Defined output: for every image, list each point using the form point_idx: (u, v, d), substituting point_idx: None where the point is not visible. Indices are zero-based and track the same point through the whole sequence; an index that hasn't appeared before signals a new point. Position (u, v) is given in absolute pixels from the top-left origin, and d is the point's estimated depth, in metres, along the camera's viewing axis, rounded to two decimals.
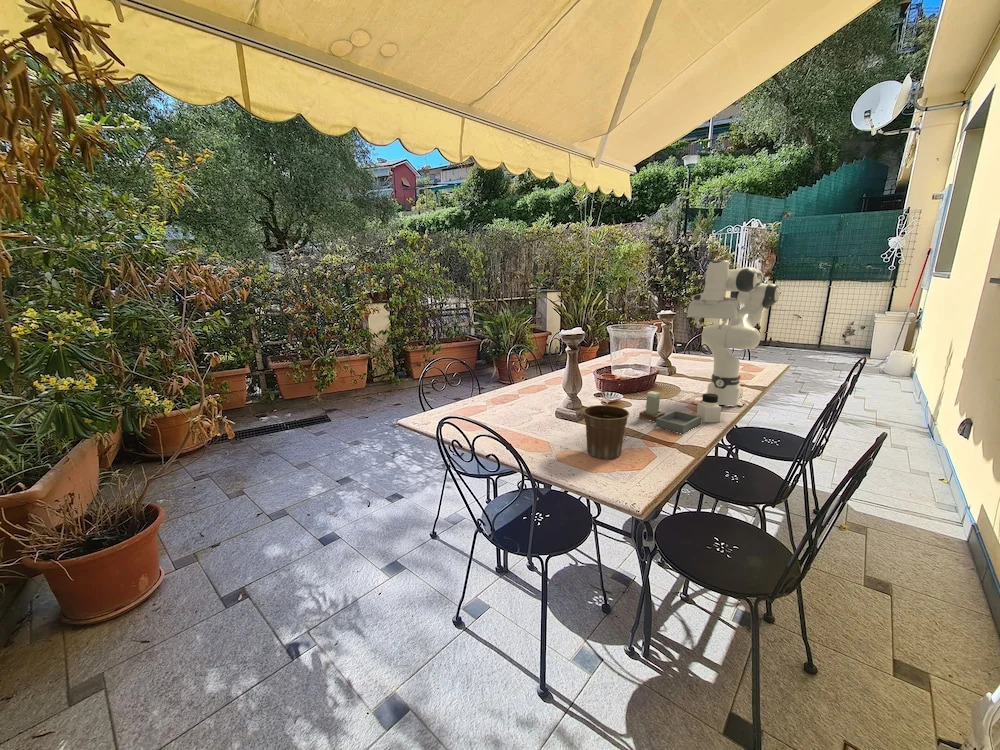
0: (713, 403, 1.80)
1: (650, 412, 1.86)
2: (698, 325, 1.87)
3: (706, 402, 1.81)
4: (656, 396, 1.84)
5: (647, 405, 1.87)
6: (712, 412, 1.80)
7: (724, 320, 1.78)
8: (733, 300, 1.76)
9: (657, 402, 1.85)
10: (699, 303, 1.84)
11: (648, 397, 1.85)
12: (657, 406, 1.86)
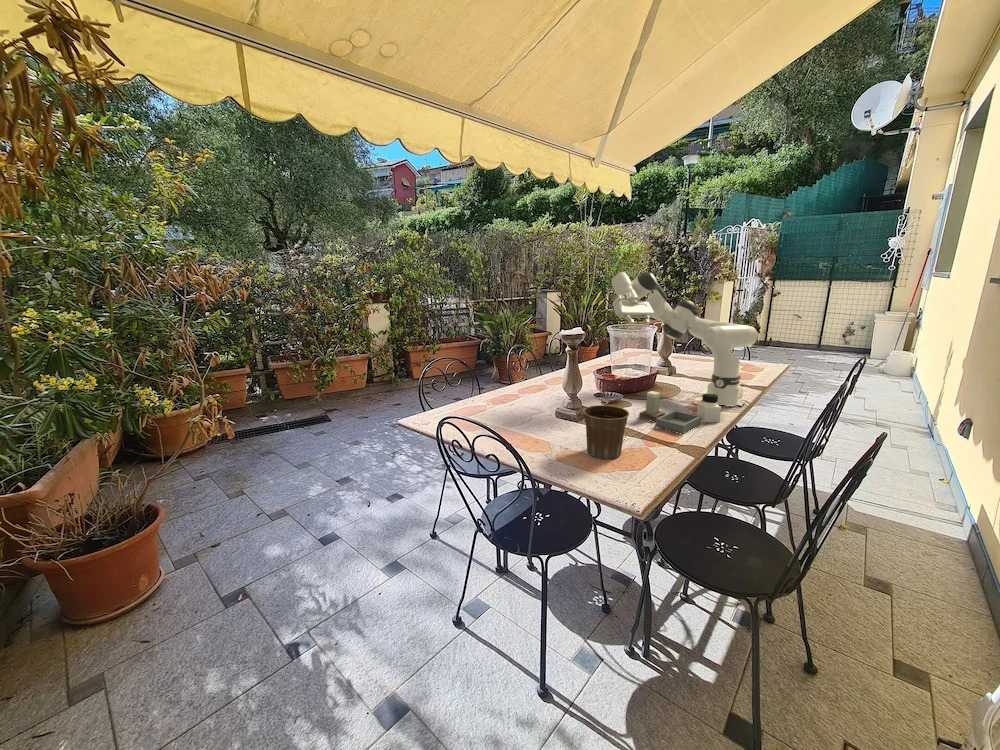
0: (713, 403, 1.80)
1: (650, 412, 1.86)
2: (632, 320, 1.92)
3: (706, 402, 1.81)
4: (656, 396, 1.84)
5: (647, 405, 1.87)
6: (712, 412, 1.80)
7: (648, 315, 1.97)
8: (644, 302, 2.02)
9: (657, 402, 1.85)
10: (626, 302, 1.95)
11: (648, 397, 1.85)
12: (657, 406, 1.86)
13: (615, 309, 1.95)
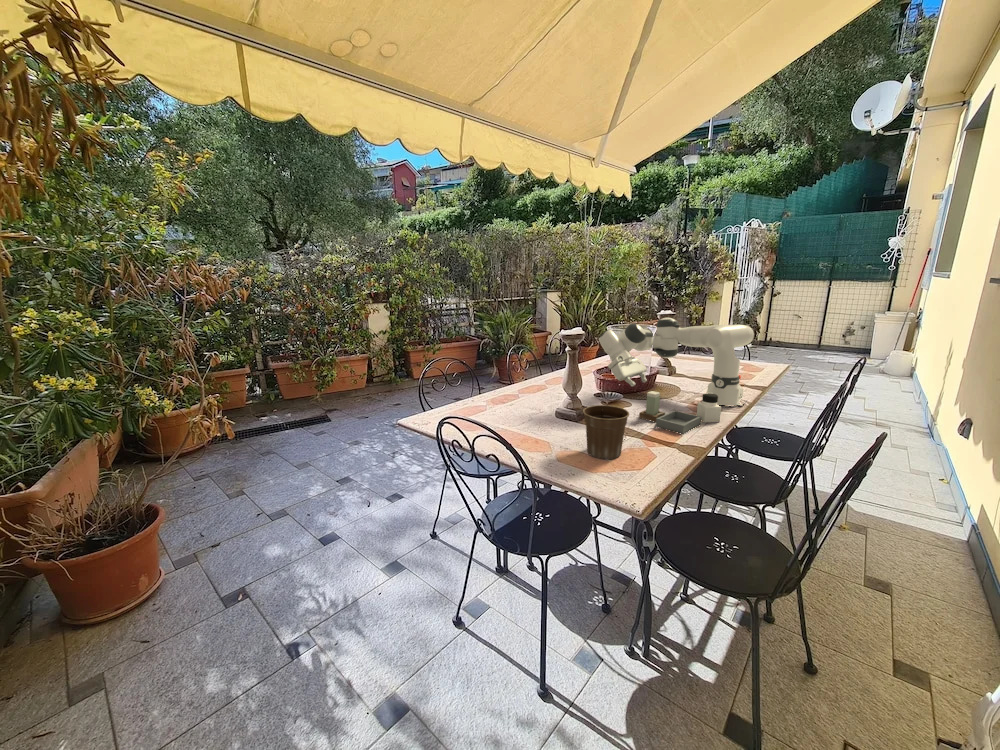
0: (713, 403, 1.80)
1: (650, 412, 1.86)
2: (634, 382, 1.86)
3: (706, 402, 1.81)
4: (656, 396, 1.84)
5: (647, 405, 1.87)
6: (712, 412, 1.80)
7: (643, 373, 1.94)
8: (634, 358, 1.99)
9: (657, 402, 1.85)
10: (623, 363, 1.88)
11: (648, 397, 1.85)
12: (657, 406, 1.86)
13: (614, 372, 1.87)
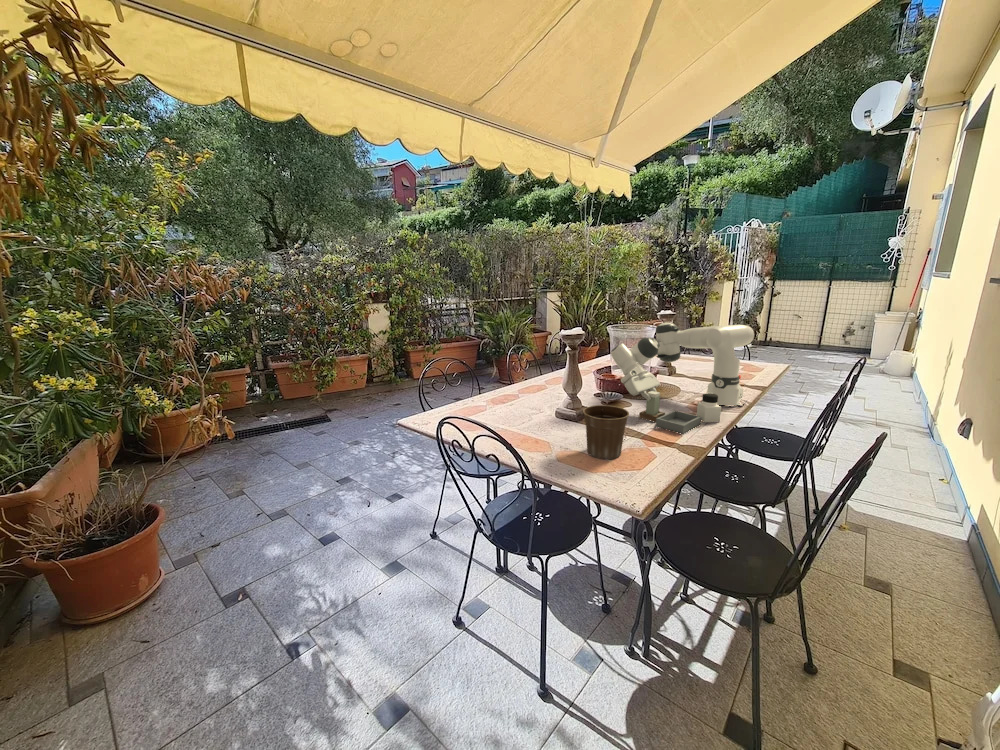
0: (713, 403, 1.80)
1: (650, 412, 1.86)
2: (650, 396, 1.84)
3: (706, 402, 1.81)
4: (656, 396, 1.84)
5: (647, 405, 1.87)
6: (712, 412, 1.80)
7: (654, 388, 1.89)
8: None
9: (657, 402, 1.85)
10: (636, 378, 1.85)
11: None
12: (657, 406, 1.86)
13: (628, 387, 1.84)
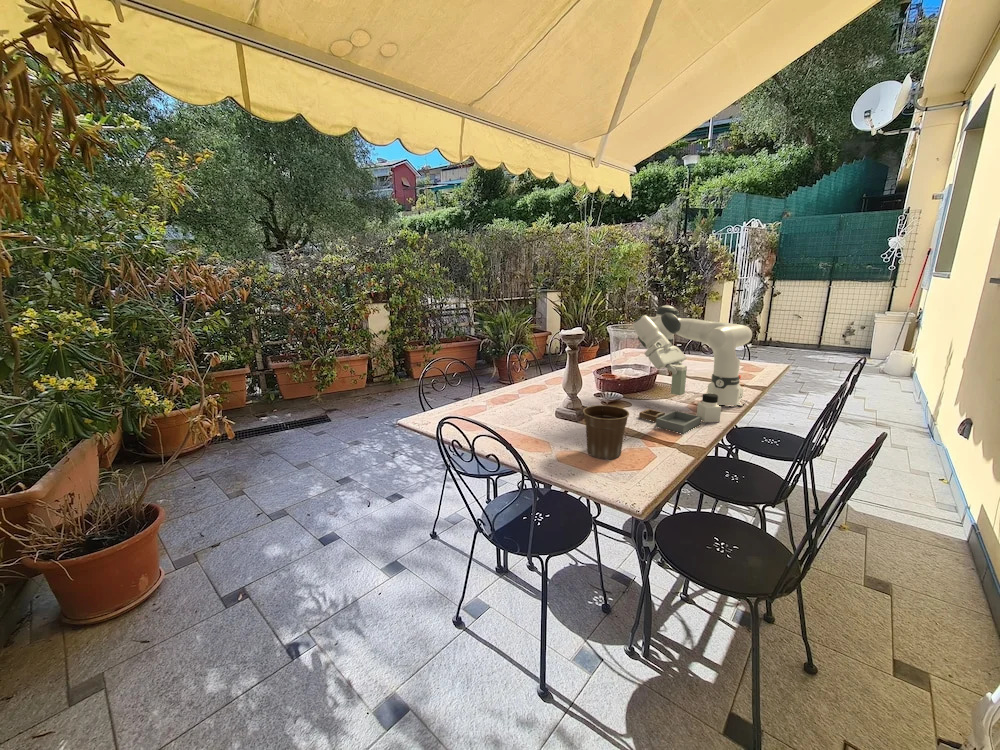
0: (713, 403, 1.80)
1: (676, 387, 1.73)
2: (676, 370, 1.71)
3: (706, 402, 1.81)
4: (683, 369, 1.71)
5: (673, 379, 1.74)
6: (712, 412, 1.80)
7: (680, 362, 1.77)
8: (672, 346, 1.83)
9: (684, 376, 1.72)
10: (662, 350, 1.73)
11: None
12: (684, 380, 1.73)
13: (652, 360, 1.71)
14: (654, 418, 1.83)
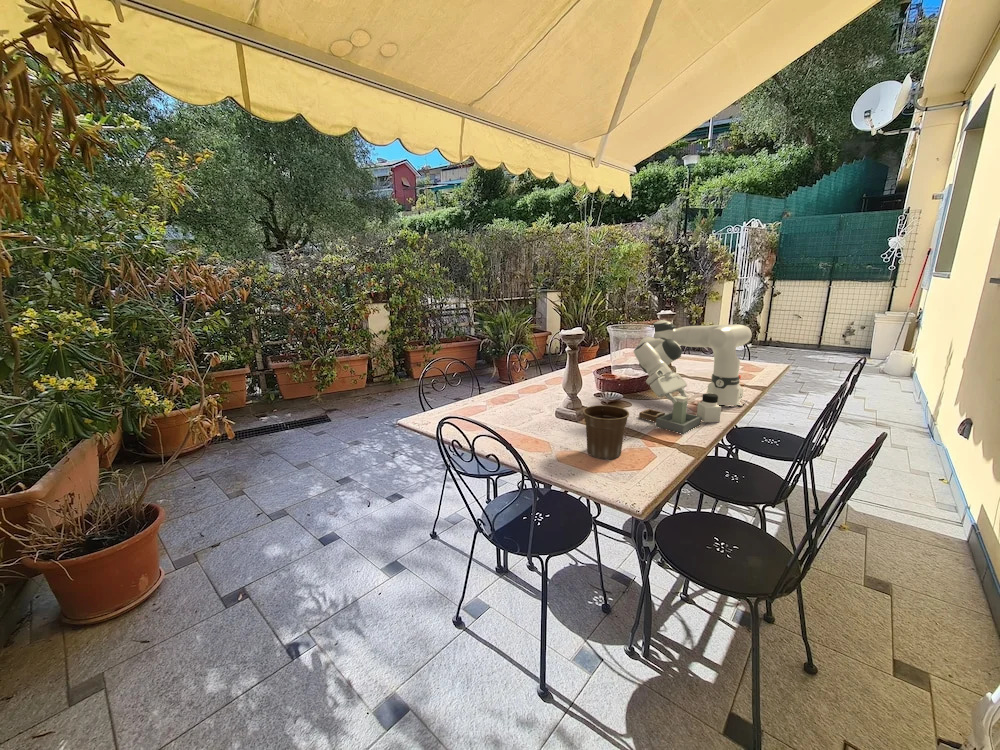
0: (713, 403, 1.80)
1: (677, 418, 1.76)
2: (676, 399, 1.72)
3: (706, 402, 1.81)
4: (684, 401, 1.73)
5: (674, 410, 1.76)
6: (712, 412, 1.80)
7: (683, 389, 1.79)
8: (673, 372, 1.85)
9: (684, 407, 1.75)
10: (663, 378, 1.74)
11: None
12: (684, 411, 1.75)
13: (654, 388, 1.73)
14: (654, 418, 1.83)
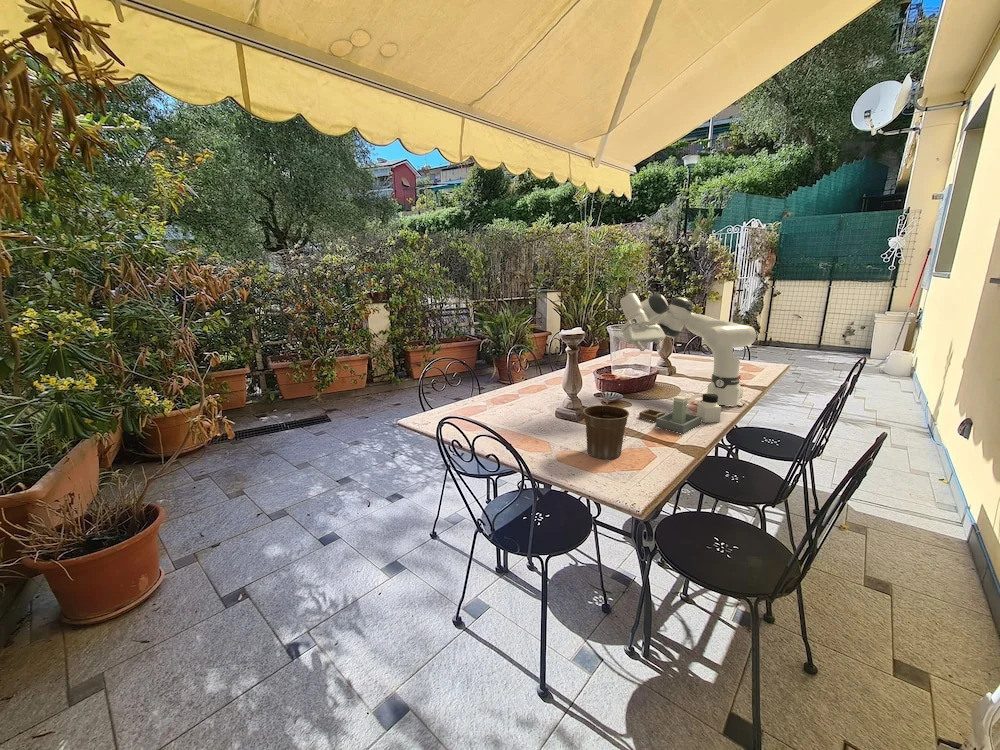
0: (713, 403, 1.80)
1: (677, 418, 1.76)
2: (643, 347, 1.82)
3: (706, 402, 1.81)
4: (684, 401, 1.73)
5: (674, 410, 1.76)
6: (712, 412, 1.80)
7: (659, 340, 1.87)
8: (655, 324, 1.91)
9: (684, 407, 1.75)
10: (636, 327, 1.84)
11: (675, 402, 1.75)
12: (684, 411, 1.75)
13: (625, 335, 1.85)
14: (654, 418, 1.83)
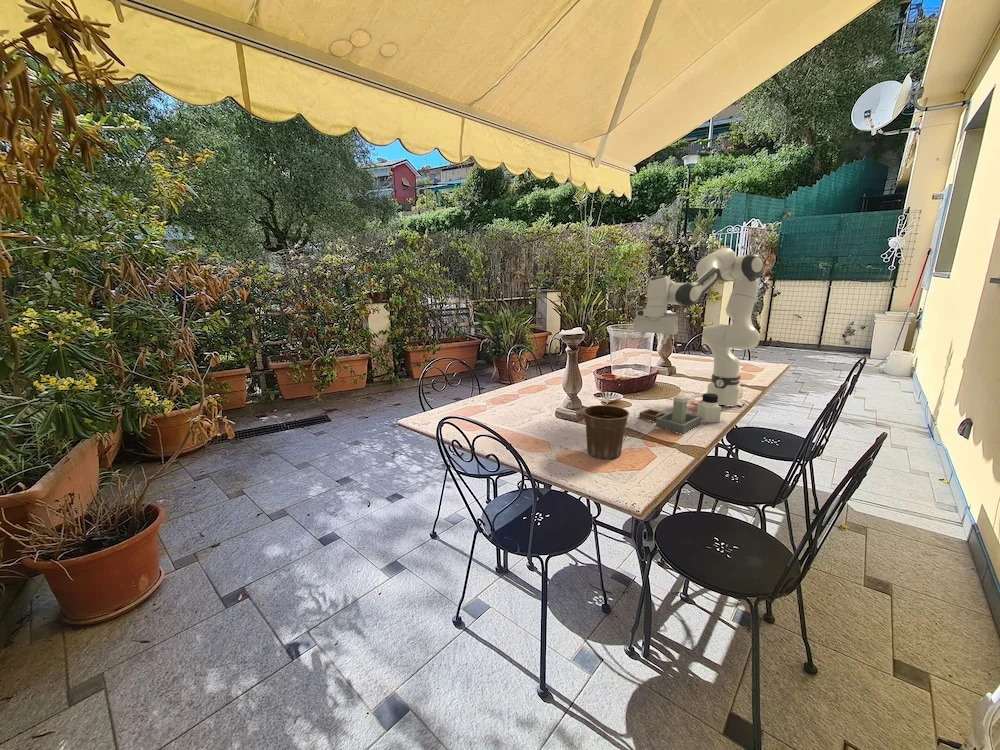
0: (713, 403, 1.80)
1: (677, 418, 1.76)
2: (644, 339, 1.92)
3: (706, 402, 1.81)
4: (684, 401, 1.73)
5: (674, 410, 1.76)
6: (712, 412, 1.80)
7: (666, 335, 1.84)
8: (673, 316, 1.80)
9: (684, 407, 1.75)
10: (643, 318, 1.89)
11: (675, 402, 1.75)
12: (684, 411, 1.75)
13: None
14: (654, 418, 1.83)
